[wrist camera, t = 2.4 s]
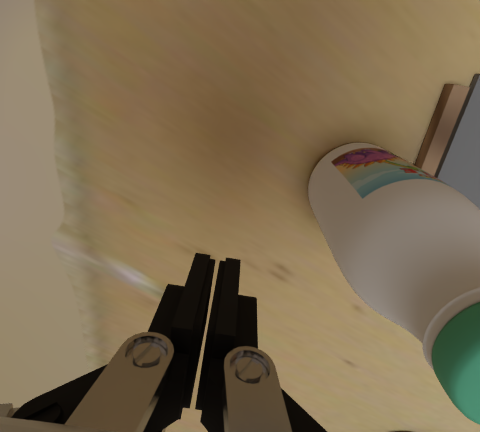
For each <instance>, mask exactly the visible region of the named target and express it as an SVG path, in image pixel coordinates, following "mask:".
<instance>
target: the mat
mask: <svg viewBox="0 0 480 432" xmlns="http://www.w3.org/2000/svg"><path fill="white" fill-rule="evenodd" d="M434 177H436V178H438V179H439V180H441V181H443V182H444V183H446V184H447V185H449V186H450V187H452V188H454V189H455V190H457V191H458V192H460V193H461V194H463V195H464V196H465V197H466V198H467V199H469V200H470V201H471V202H472V203H473V204H474V205H476V206H477V207H478V208H479V210H480V74H475V76H474V78H473V80H472V83H471V85H470V88H469V91H468V93H467V96H466V98H465V101H464V103H463V106H462V108H461V111H460V113H459V116H458V118H457V120H456V123H455V125H454V128H453V130H452V133H451V135H450V138H449V140H448V143H447V145H446V148H445V150H444V153H443V155H442V157H441V160H440V162H439V165H438V167H437V170H436V172H435V175H434Z"/></svg>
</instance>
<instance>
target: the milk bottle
mask: <svg viewBox="0 0 480 432" xmlns="http://www.w3.org/2000/svg"><path fill="white" fill-rule="evenodd" d="M308 197H309V201H310V205H311V208H312V210H313V212H314V215H315V217H316V219H317V221H318V224H319V226H320V228H321V230H322V233H323V235H324V237H325V239H326V241H327V243H328V246H329V248H330V250H331V252H332V254H333V256H334V258H335V260H336V262H337V264H338V266H339V268H340V270H341V271H342V273H343V275H344V277H345V279H346V280H347V282H348V283H349V285H350V286H351V287H352V289H353V290H354V291H355V293H356V294H357V295H358V296H359V297H360V298H361V299H362V300H363V301H364V302H365V303H366V304H367V305H368V306H370V307H371V308H372V309H373V310H375V311H376V312H377V313H379V314H380V315H382V316H384V317H385V318H387V319H389V320H391V321H392V322H394V323H396V324H398V325H400V326H401V327H403V328H404V329H406V330H407V331H409V332H410V333H411V334H413V335H414V336H415V337H416V338H417V339H419V340H420V341H421V342H422V343H423V353H424V356H425V359H426V361H427V362H428V364H429V365H430V366H431V368H432V369H433V370H434V372H435V374H436V376H437V378H438V380H439V382H440V383H441V385H442V387H443V389H444V390H445V392H446V393H447V395H448V396H449V398H450V399H451V401H452V402H453V404H454V405H455V406H456V407H457V408H458V409H459V410H460V411H461V412H462V413H463V414H464V415H465V416H466V417H467V418H469V419H470V420H472V421H473V422H475V423H477V424H480V210H479V208H478V207H477V206H476V205H474V204H473V203H472V202H471V201H470V200H469V199H467V198H466V197H465V196H464V195H463V194H461V193H460V192H458V191H457V190H455V189H454V188H452V187H450V186H449V185H447V184H446V183H444V182H443V181H441V180H439V179H438V178H436V177H434V176H432V175H430V174H429V173H427V172H425V171H423V170H422V169H420V168H418V167H416V166H414V165H413V164H411V163H409V162H407V161H405V160H403V159H402V158H400V157H398V156H396V155H394V154H392V153H390V152H389V151H387V150H385V149H383V148H381V147H378V146H376V145H373V144H369V143H350V144H346V145H343V146H340V147H338V148H336V149H334V150H332V151H331V152H329V153H328V154H327V155H325V156H324V157H323V158H322V159H321V160H320V161H319V163H318V164H317V165H316V167H315V168H314V170H313V172H312V174H311V177H310V180H309V185H308Z"/></svg>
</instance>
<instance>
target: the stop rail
mask: <svg viewBox="0 0 480 432" xmlns="http://www.w3.org/2000/svg"><path fill="white" fill-rule="evenodd" d="M469 88H470V87H466V86H460V85H455V84H445V86H444V88H443V91H442V94H441V96H440V99H439V102H438V104H437V107H436V110H435V112H434V115H433V118H432V120H431V123H430V126H429V128H428V131H427V134H426V136H425V139H424V141H423V144H422V147H421V149H420V152H419V155H418V157H417V160H416V163H415V165H414V166H416V167H418V168H420V169H422V170H423V171H425V172H427V173H429V174H430V175H432V176H434V175H435V172H436V170H437V167H438V165H439V162H440V160H441V157H442V155H443V153H444V150H445V148H446V145H447V143H448V140H449V138H450V135H451V133H452V130H453V128H454V125H455V123H456V120H457V118H458V116H459V113H460V111H461V108H462V106H463V103H464V101H465V98H466V96H467V93H468V91H469Z"/></svg>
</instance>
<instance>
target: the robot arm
mask: <svg viewBox="0 0 480 432" xmlns="http://www.w3.org/2000/svg"><path fill="white" fill-rule="evenodd" d="M214 266H215V260H214V259H210V255H207V254H200V253H196V254H195V257H194V260H193V263H192V266H191V269H190V272H189V275H188V278H187V281H186V284H185V287H184V286H178V285H171V284H168V285H167V287H166V289H165V292H164V294H163V297H162V299H161V301H160V304H159V306H158V309H157V311H156V313H155V316H154V318H153V320H152V323H151V325H150V328H149V330H148V332H142V333H139V334H135V335H133V336H132V337H130V338H128V339H127V340H126V341H125V342H124V343H123V344H122V345H121V347H120V348H119V349H118V351H117V352H116V354H115V355H114V356H113V358H112V359H111V361H110V362H109V363H108V364H107V365H105V366H103V367H101V368H99V369H96V370H94V371H92V372H90V373H88V374H86V375H83V376H81V377H79V378H77V379H75V380H73V381H70V382H68V383H66V384H64V385H62V386H60V387H57V388H56V389H53V390H51V391H49V392H47V393H44V394H42V395H40V396H38V397H36V398H34V399H32V400H30V401H29V402H27V403H25V404H24V405H23V406H21V407H20V408H13V405H12V403H9V404H0V432H165V430H166V427H167V426H169V425H170V424H172V423H173V422H175V421H176V420H178V419H181V414H182V409H183V408H190V404H191V398H192V393H193V388H194V383H195V378H196V372H197V367H198V362H199V357H200V351H201V346H202V341H203V336H204V331H205V325H206V319H207V313H208V306H209V299H210V293H211V286H212V279H213V273H214ZM239 275H240V260H238V259H232V258H226V261H220V263H219V269H218V274H217V280H216V285H215V291H214V296H213V302H212V307H211V313H210V318H209V324H208V330H207V336H206V342H205V349H204V355H203V362H202V368H201V375H200V381H199V388H198V394H197V401H196V407H195V409H197V410H202V415H201V421H200V422H201V423H202V424H203V425H204V427H205V428H206V429H207V431H208V432H327V431H326V430H325V429H324V428H323V427H322V426H321V425H320V424H318V423H317V422H316V421H315V420H314V419H313V418H312V417H311V416H310V415H309V414H308V413H307V412H306V411H305V410H304V409H303V408H302V407H300V406H299V405H298V404H297V403H296V402H295V401H294V400H293V399H292V398H291V397H290V396H289V395H288V394H287V393H286V392H285V391H284V390H282V389H281V387H280V383H279V379H278V375H277V372H276V368H275V365H274V363H273V361H272V359H271V358H270V357H269V356H268V355H267V354H266V353H265V352H263V351H262V350H259V349H258V337H257V299H256V297H249V296H243V295H238V291H239Z"/></svg>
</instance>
